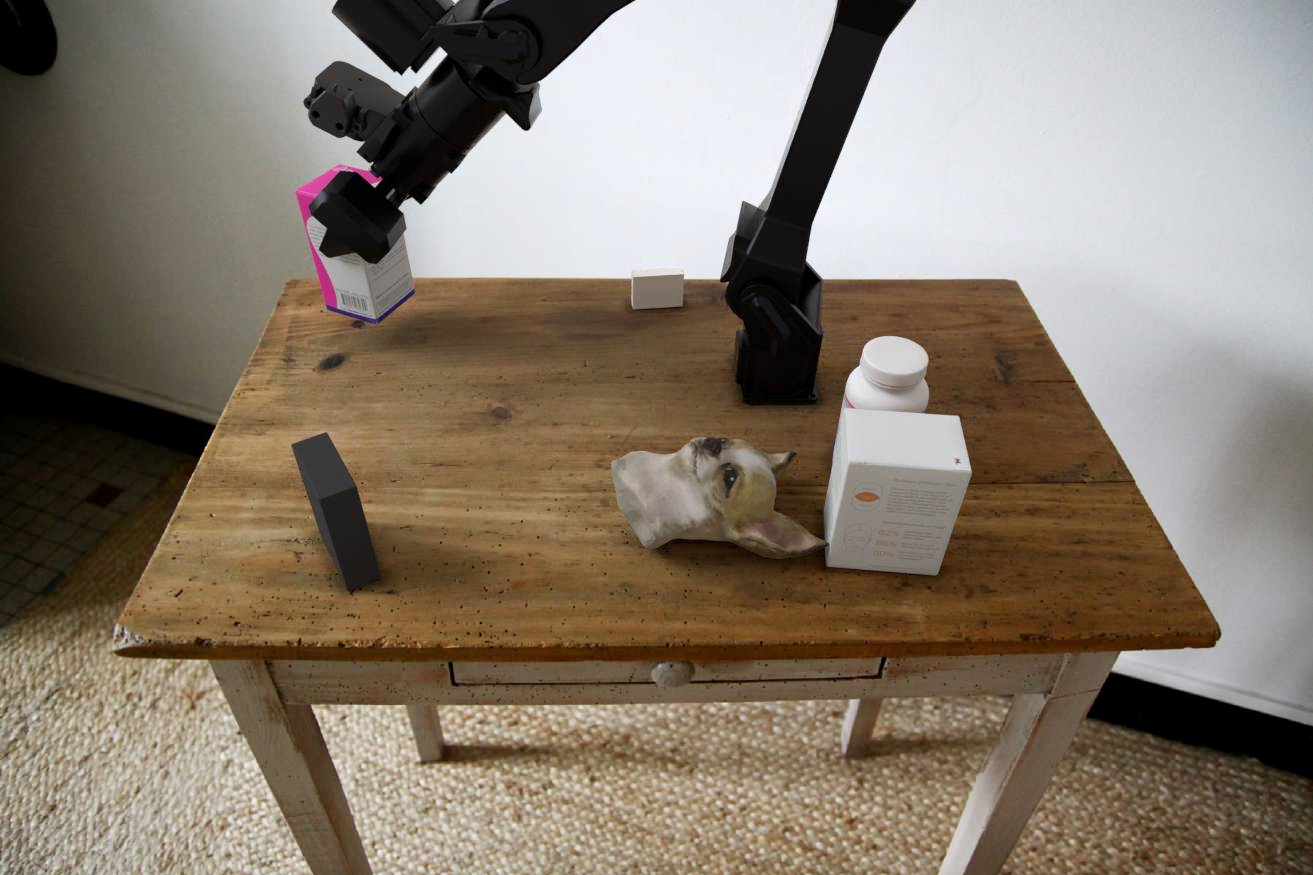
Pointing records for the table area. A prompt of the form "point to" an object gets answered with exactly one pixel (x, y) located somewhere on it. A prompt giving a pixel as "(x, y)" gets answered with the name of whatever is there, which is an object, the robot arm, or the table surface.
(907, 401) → the pill bottle
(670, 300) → the eraser
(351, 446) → the table surface
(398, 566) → the table surface
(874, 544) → the small box
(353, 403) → the table surface
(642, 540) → the ceramic sculpture
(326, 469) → the black rubber pad
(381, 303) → the supplement box
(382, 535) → the table surface
